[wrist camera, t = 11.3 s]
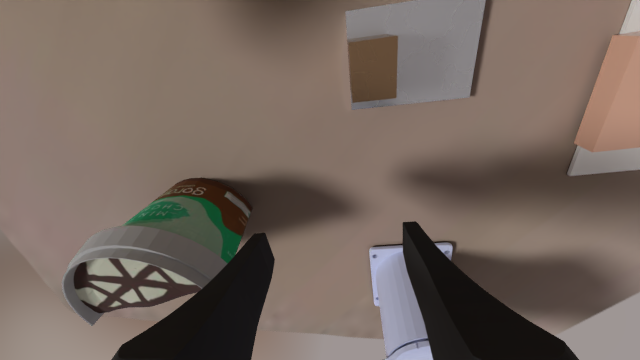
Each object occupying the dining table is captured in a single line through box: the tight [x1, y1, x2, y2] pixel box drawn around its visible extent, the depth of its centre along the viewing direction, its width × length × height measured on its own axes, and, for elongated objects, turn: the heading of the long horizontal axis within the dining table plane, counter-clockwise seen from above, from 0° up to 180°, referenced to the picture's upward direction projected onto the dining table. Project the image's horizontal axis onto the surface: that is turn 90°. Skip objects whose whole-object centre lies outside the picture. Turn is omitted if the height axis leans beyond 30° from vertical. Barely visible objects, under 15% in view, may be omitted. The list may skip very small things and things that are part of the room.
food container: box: [62, 178, 252, 326], centre depth 20 cm, size 12×6×10 cm, turn 112°
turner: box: [345, 0, 486, 110], centre depth 15 cm, size 8×6×5 cm
